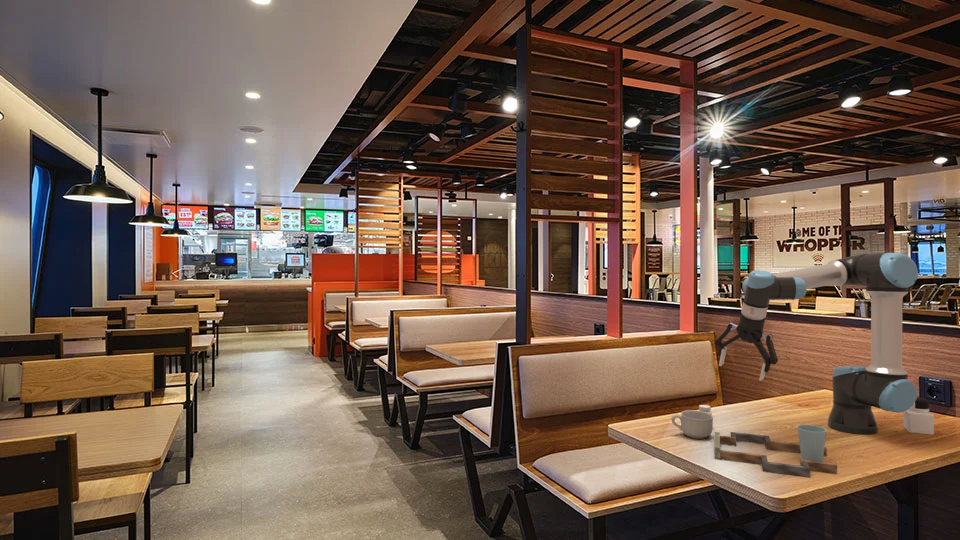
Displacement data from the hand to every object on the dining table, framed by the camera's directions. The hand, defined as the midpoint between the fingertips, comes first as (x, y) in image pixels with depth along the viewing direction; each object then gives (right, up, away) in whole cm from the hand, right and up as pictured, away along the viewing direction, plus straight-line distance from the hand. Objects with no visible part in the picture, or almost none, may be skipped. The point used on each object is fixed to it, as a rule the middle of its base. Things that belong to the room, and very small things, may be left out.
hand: (740, 371), depth 184 cm
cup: (+12, -24, -21) cm, 34 cm away
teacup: (-15, -24, +5) cm, 29 cm away
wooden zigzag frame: (+1, -24, -16) cm, 29 cm away
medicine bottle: (+68, -23, +7) cm, 72 cm away
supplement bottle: (-7, -24, +14) cm, 28 cm away
